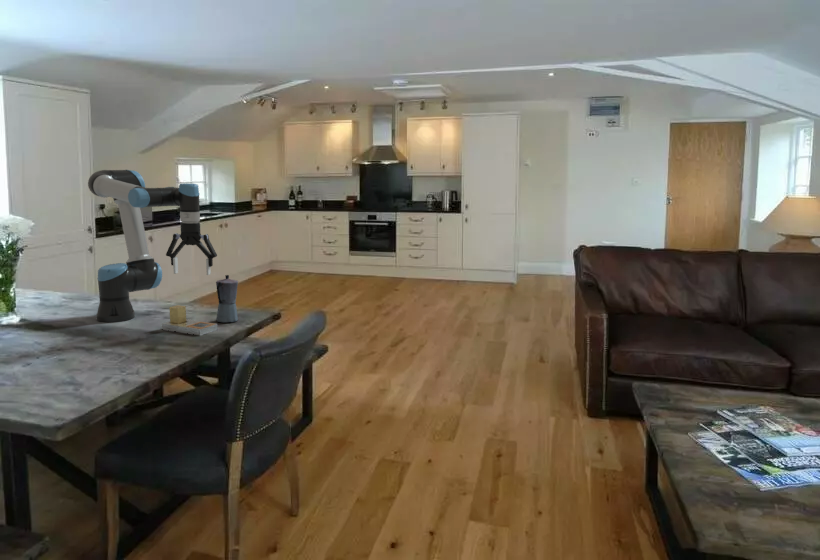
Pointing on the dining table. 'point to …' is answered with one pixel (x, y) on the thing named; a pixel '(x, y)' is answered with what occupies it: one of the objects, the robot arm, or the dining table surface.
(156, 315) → the dining table surface
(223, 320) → the moka pot
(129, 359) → the dining table surface
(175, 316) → the tan rectangular block
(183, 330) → the grey shape sorter board
